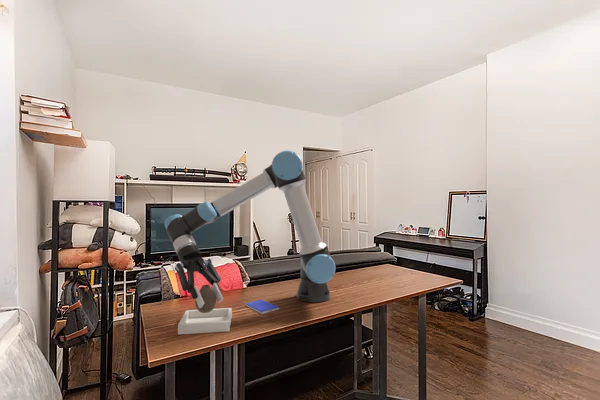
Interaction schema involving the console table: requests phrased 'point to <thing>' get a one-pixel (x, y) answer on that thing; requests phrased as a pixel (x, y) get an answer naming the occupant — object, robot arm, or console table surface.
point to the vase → (207, 299)
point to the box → (205, 321)
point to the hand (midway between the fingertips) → (211, 303)
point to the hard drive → (262, 306)
